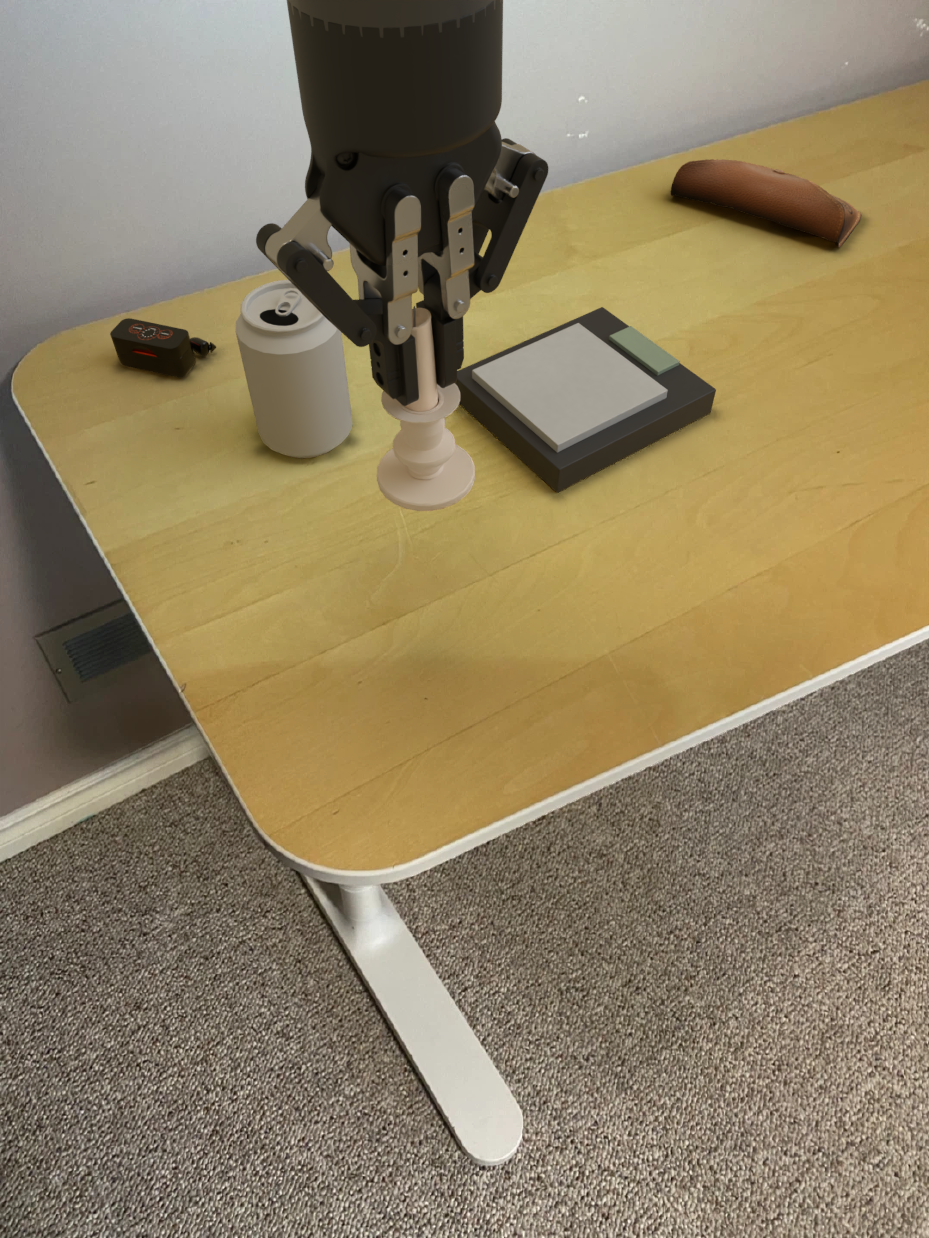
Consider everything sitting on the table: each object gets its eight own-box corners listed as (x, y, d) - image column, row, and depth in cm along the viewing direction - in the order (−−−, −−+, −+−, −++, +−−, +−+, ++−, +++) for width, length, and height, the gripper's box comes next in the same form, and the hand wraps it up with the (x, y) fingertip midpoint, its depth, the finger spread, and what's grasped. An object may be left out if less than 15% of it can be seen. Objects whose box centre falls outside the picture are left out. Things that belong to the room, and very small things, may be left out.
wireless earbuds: (192, 384, 81) (183, 351, 78) (118, 368, 82) (107, 335, 80) (218, 352, 84) (210, 320, 81) (146, 337, 85) (136, 305, 83)
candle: (396, 524, 49) (378, 353, 41) (364, 460, 52) (341, 289, 44) (490, 495, 50) (491, 323, 42) (453, 434, 53) (447, 263, 45)
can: (243, 452, 76) (210, 320, 66) (286, 395, 80) (261, 264, 70) (329, 474, 74) (308, 342, 64) (368, 414, 78) (354, 283, 69)
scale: (599, 330, 85) (603, 298, 83) (711, 413, 78) (718, 381, 76) (451, 397, 80) (450, 365, 77) (557, 493, 72) (559, 461, 70)
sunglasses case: (867, 210, 97) (874, 167, 90) (835, 270, 96) (840, 232, 90) (702, 163, 103) (698, 120, 97) (672, 220, 103) (666, 181, 96)
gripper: (270, 63, 28) (339, 489, 42) (617, -40, 33) (579, 371, 47) (162, -11, 32) (257, 401, 46) (488, -94, 37) (487, 301, 51)
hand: (420, 385), depth 46 cm, fingers closed on candle
